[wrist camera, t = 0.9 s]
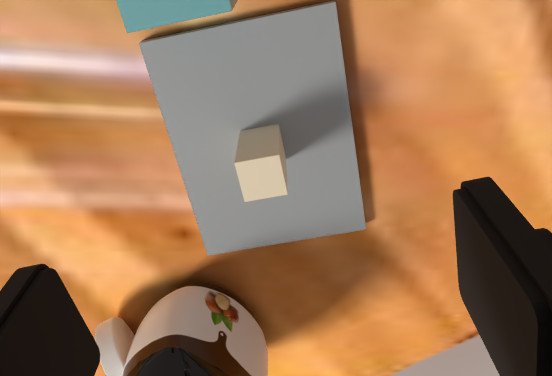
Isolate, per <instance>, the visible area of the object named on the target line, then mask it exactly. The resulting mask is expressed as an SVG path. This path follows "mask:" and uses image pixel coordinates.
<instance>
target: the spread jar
mask: <svg viewBox="0 0 552 376" xmlns="http://www.w3.org/2000/svg"><path fill="white" fill-rule="evenodd" d="M95 341H96V343H97V345H98V347H99V350H100V362H101V365H102V367H103V370H104V372H105V374H106V376H268V353H267V344H266V340H265V337H264V334H263V332H262V330H261V328H260V325H259V323H258V322H257V320H256V318H255V317H254V316H253V314H252V313H251V311H250V310H249V309H248V307H247V306H246V305H245V304H244V303H243V302H242V301H241V300H240V299H239V298H238V297H236V296H235V295H234V294H232V293H230V292H229V291H226V290H224V289H222V288H219V287H216V286H212V285H207V284H191V285H186V286H183V287H180V288H178V289H176V290H174V291H172V292H171V293H169V294H167V295H166V296H165V297H163V298H162V299H161V300H159V301H158V302H157V303H156V304H155V305H154V306H153V307H152V308H151V309H150V311H149V312H148V313H147V315H146V316H145V317H144V319H143V320H142V322H141V324H140V325H139V327H138V329H137V332H136V334H135V336H134V334H133V332H132V331H131V329H130V328H129V326H128V325H127V324H126V323H125V322H124V321H123V320H122V319H121V318H120V317H118V316H114V317H112V318H110V319H108V320H106V321H104V322H102V323H100V324H98V325H97V327H96V330H95Z"/></svg>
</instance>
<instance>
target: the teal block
mask: <svg viewBox="0 0 552 376" xmlns="http://www.w3.org/2000/svg"><path fill="white" fill-rule="evenodd" d="M116 1H117V4H118V7H119V10H120V13H121V16H122V19H123V22H124V25H125V28H126V31H127V33H131V32H135V31H140V30H145V29H149V28H154V27H159V26H163V25H168V24H173V23H178V22H182V21H187V20H192V19H196V18H201V17H206V16H211V15H215V14H220V13H225V12H229V11H232V10H233V8H234V6H235V4H236V2H237V0H116Z"/></svg>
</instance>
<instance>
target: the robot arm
mask: <svg viewBox="0 0 552 376" xmlns="http://www.w3.org/2000/svg"><path fill="white" fill-rule="evenodd" d="M453 206H454V221H455V236H456V252H457V267H458V282H459V290H460V294H461V297H462V300H463V302H464V304H465V306H466V308H467V310H468V312H469V314H470V316H471V318H472V320H473V322H474V324H475V326H476V328H477V330H478V332H479V334H480V336H481V338H482V340H483V342H484V344H485V346H486V348H487V350H488V352H489V354H490V357H491V359H492V361H493V363H494V365H495V367H496V369H497V371H498V373H499V374H500V376H552V233H551V232H550V231H549V230H548V229H545V228H541V229H534V228H533V227H532V226H531V224H530V223H529V222H528V221H527V220H526V218H525V217H524V216H523V215H522V214H521V213H520V211H519V210H518V209H517V208H516V207H515V205H514V204H513V203H512V202H511V201H510V200H509V198H508V197H507V196H506V195H505V194H504V192H503V191H502V190H501V189H500V188H499V187H498V185H497V184H496V183H495V182H494V181H493V180H492V178H490V177H484V178H479V179H474V180H469V181H464V182H462V183H461V189H457V190H454V191H453ZM99 362H100V350H99V347H98V345H97V343H96V342H95V340H94V338H93V336H92V334H91V333H90V331H89V329H88V327H87V325H86V324H85V322H84V320H83V318H82V316H81V315H80V313H79V311H78V309H77V307H76V306H75V304H74V302H73V300H72V298H71V297H70V295H69V293H68V291H67V289H66V288H65V286H64V284H63V282H62V280H61V279H60V277H59V275H58V273H57V272H56V270H54V269H52V268H49V267H48V266H47V265H45V264H38V265H33V266H28V267H23V268H19V269H17V270H16V271H15V272H14V273H13V275H12V276H11V277H10V279H9V280H8V281H7V283H6V284H5V285H4V287H3V288H2V289H1V291H0V376H94V375H95V372H96V370H97V367H98V365H99Z"/></svg>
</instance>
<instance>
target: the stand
mask: <svg viewBox="0 0 552 376" xmlns="http://www.w3.org/2000/svg"><path fill="white" fill-rule="evenodd" d="M139 45H140V48H141V51H142V54H143V58H144V61H145V64H146V67H147V70H148V73H149V76H150V79H151V82H152V85H153V88H154V91H155V95H156V98H157V101H158V104H159V107H160V110H161V113H162V116H163V119H164V122H165V125H166V128H167V131H168V135H169V138H170V141H171V144H172V147H173V150H174V153H175V156H176V159H177V162H178V165H179V168H180V172H181V175H182V178H183V181H184V184H185V187H186V190H187V193H188V196H189V199H190V202H191V205H192V209H193V212H194V215H195V218H196V221H197V224H198V227H199V230H200V233H201V236H202V239H203V242H204V246H205V249H206V252H207V255H208V256H209V255H215V254H221V253H227V252H233V251H239V250H245V249H251V248H257V247H263V246H269V245H275V244H281V243H287V242H293V241H299V240H305V239H311V238H317V237H323V236H329V235H335V234H341V233H347V232H354V231H360V230H366V224H365V217H364V209H363V202H362V194H361V187H360V179H359V172H358V165H357V157H356V150H355V142H354V135H353V127H352V120H351V112H350V105H349V98H348V90H347V83H346V75H345V68H344V60H343V53H342V46H341V38H340V31H339V23H338V16H337V8H336V2H335V1H334V0H333V1H328V2H323V3H319V4H314V5H309V6H304V7H300V8H295V9H290V10H285V11H281V12H276V13H271V14H266V15H262V16H257V17H252V18H247V19H243V20H238V21H233V22H228V23H224V24H219V25H214V26H209V27H205V28H200V29H195V30H190V31H186V32H181V33H176V34H171V35H167V36H162V37H157V38H152V39H148V40H143V41H141V42H140V43H139Z"/></svg>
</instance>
